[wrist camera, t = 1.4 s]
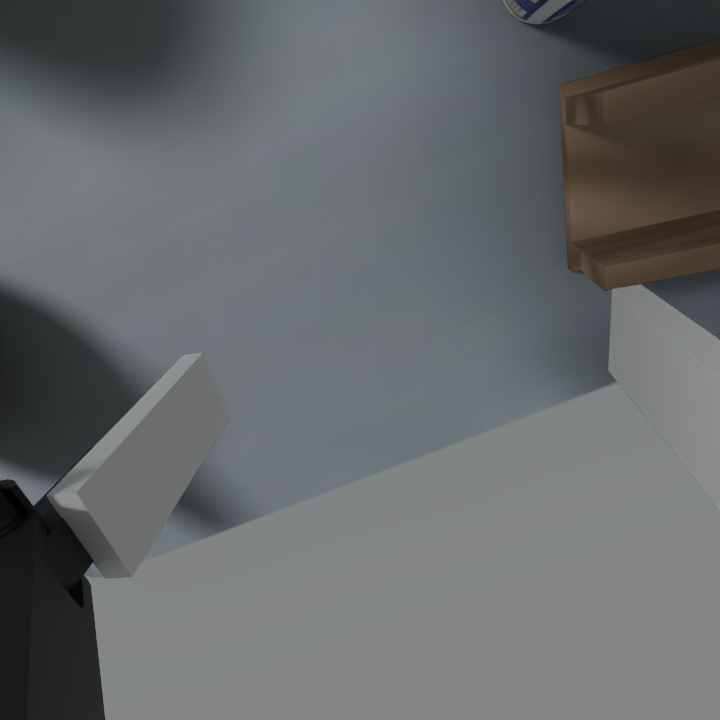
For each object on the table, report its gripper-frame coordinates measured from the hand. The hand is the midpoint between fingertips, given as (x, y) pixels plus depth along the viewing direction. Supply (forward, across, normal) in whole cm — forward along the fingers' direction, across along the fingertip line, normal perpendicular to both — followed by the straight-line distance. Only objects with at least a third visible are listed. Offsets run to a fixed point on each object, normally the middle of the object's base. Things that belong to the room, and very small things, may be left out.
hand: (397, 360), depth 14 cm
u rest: (+21, +18, +1) cm, 27 cm away
